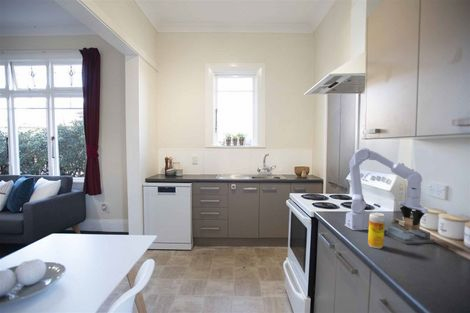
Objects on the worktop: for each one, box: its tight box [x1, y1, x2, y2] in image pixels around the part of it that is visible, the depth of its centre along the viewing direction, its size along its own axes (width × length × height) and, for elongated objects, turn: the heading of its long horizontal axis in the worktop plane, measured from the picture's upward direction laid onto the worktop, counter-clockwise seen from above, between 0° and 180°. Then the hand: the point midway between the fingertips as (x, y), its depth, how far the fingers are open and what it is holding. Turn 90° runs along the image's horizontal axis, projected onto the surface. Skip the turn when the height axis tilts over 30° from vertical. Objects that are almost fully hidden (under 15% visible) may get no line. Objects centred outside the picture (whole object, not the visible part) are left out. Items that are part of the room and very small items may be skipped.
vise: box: [385, 228, 435, 245], centre depth 121 cm, size 16×12×4 cm
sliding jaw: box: [387, 225, 410, 240], centre depth 120 cm, size 3×10×3 cm, turn 10°
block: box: [403, 216, 421, 230], centre depth 121 cm, size 4×4×5 cm
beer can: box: [367, 211, 386, 249], centre depth 111 cm, size 6×6×15 cm
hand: (411, 223), depth 121 cm, fingers closed on block, 4 cm apart
